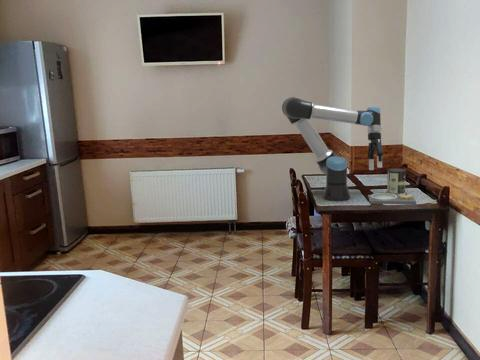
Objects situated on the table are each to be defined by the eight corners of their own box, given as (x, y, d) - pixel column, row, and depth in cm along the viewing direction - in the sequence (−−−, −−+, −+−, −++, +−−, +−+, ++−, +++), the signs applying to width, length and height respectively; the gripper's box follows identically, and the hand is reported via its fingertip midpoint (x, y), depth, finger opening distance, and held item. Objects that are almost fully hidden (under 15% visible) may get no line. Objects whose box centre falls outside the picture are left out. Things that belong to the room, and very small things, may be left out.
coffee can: (403, 190, 280) (404, 168, 277) (406, 195, 270) (407, 171, 267) (386, 190, 282) (386, 168, 279) (387, 194, 272) (388, 171, 269)
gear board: (370, 203, 255) (370, 195, 254) (368, 197, 269) (368, 189, 268) (416, 204, 251) (416, 196, 250) (411, 197, 264) (411, 189, 263)
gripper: (388, 129, 262) (389, 166, 260) (373, 136, 287) (374, 170, 285) (375, 129, 261) (376, 166, 260) (361, 136, 286) (362, 170, 284)
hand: (375, 168), depth 272 cm, fingers open, 13 cm apart
